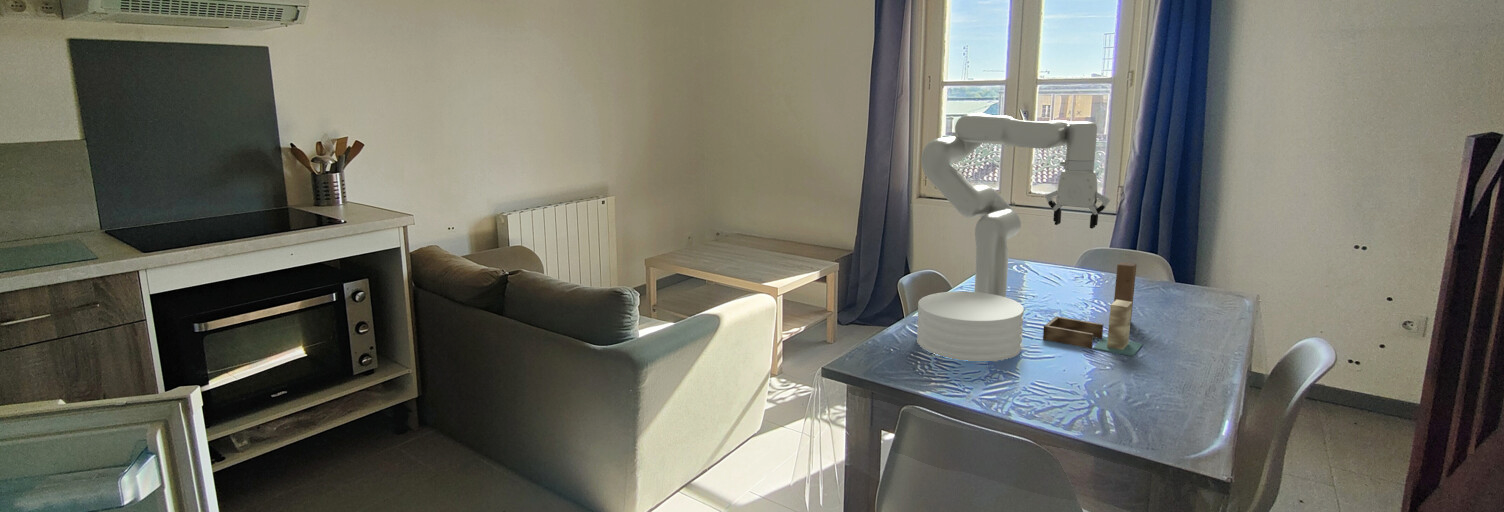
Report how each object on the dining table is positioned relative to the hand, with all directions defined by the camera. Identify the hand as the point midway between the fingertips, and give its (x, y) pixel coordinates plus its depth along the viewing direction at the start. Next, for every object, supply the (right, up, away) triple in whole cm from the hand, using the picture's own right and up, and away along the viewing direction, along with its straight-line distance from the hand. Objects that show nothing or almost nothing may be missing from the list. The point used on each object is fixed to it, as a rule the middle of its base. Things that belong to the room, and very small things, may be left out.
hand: (1074, 225), depth 223 cm
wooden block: (+17, -29, +8) cm, 35 cm away
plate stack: (-32, -34, -6) cm, 47 cm away
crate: (-2, -32, -3) cm, 32 cm away
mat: (+7, -33, -11) cm, 36 cm away
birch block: (+7, -33, -11) cm, 35 cm away
